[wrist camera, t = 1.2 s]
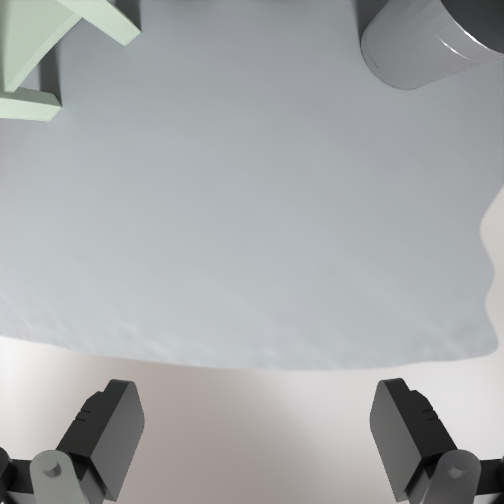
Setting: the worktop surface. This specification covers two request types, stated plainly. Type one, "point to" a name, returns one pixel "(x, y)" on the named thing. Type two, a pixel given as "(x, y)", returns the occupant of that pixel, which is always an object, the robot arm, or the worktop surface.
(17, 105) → the tall stand
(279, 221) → the worktop surface
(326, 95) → the worktop surface
